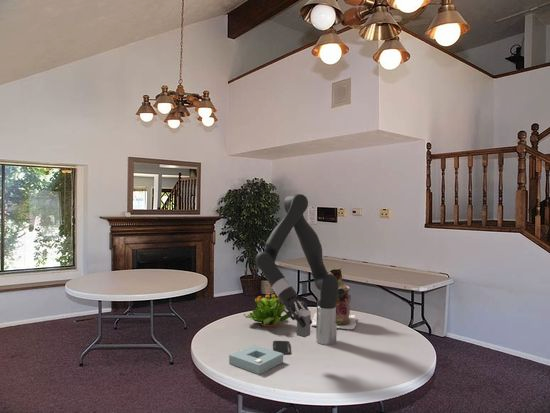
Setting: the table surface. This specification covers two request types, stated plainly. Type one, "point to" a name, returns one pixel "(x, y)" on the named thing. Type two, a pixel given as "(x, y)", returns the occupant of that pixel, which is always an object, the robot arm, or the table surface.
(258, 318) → the green flowering plant
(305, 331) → the plug
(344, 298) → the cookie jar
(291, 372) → the table surface
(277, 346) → the phone
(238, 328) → the table surface
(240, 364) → the socket
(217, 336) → the table surface
